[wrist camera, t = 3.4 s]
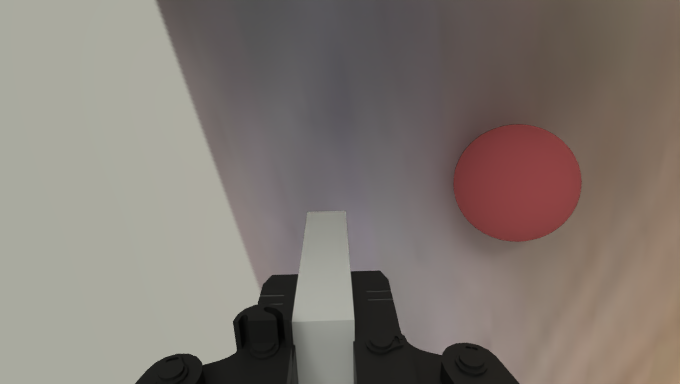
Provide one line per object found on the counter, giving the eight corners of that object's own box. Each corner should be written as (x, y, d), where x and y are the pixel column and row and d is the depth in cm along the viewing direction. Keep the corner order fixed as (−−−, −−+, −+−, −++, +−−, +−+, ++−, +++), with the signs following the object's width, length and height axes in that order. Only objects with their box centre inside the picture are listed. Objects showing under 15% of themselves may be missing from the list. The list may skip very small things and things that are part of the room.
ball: (420, 164, 23) (447, 205, 18) (503, 91, 22) (562, 111, 16) (481, 230, 25) (524, 286, 19) (563, 165, 24) (635, 206, 18)
